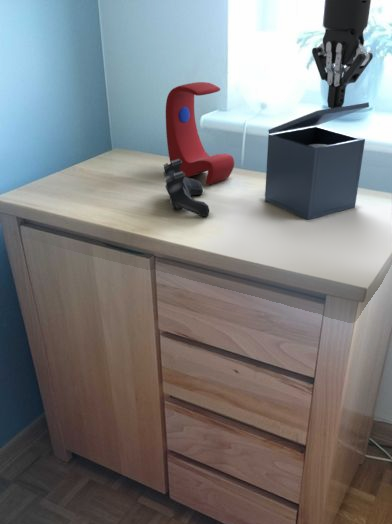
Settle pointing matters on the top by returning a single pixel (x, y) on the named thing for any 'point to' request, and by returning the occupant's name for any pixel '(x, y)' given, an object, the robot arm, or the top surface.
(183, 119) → the chair
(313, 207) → the chest
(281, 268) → the top surface
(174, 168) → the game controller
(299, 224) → the top surface
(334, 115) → the chest lid
